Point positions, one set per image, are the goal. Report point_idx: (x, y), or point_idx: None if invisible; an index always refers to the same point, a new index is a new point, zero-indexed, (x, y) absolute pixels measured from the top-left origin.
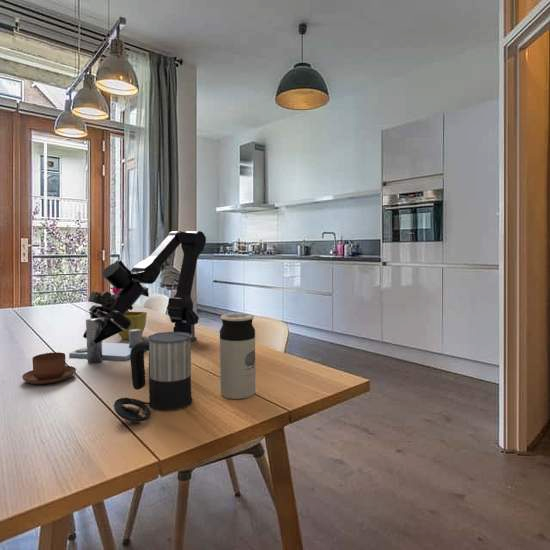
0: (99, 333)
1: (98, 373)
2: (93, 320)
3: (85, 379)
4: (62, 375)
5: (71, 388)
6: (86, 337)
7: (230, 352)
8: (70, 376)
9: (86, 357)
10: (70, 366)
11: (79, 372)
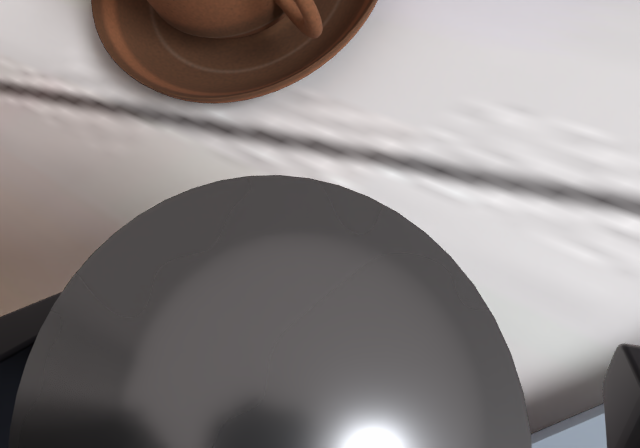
0: (26, 309)
1: (97, 224)
2: (80, 312)
3: (72, 119)
4: (240, 50)
5: (21, 17)
6: (605, 394)
7: None
8: (119, 44)
9: (597, 406)
10: (252, 91)
11: (223, 154)
